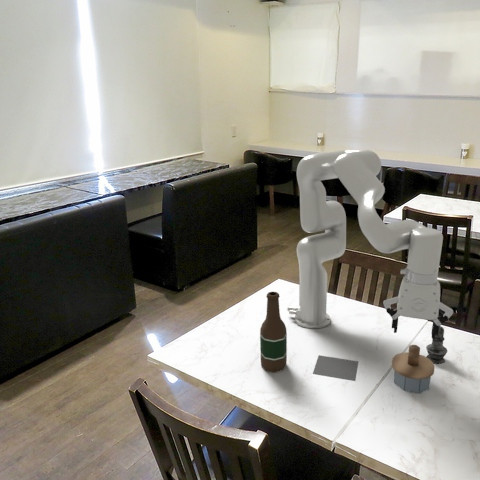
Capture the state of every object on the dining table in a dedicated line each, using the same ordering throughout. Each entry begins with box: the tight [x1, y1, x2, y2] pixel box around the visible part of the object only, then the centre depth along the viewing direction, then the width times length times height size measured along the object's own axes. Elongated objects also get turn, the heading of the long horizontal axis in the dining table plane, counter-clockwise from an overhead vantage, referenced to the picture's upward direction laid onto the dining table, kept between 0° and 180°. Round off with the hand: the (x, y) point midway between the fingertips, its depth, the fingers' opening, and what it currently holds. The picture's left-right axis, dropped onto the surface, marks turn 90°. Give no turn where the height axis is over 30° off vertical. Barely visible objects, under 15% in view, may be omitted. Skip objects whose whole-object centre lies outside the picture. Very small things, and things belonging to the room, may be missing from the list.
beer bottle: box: [259, 291, 288, 373], centre depth 134 cm, size 8×8×24 cm
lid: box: [391, 344, 436, 379], centre depth 125 cm, size 11×11×6 cm
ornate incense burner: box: [425, 325, 448, 365], centre depth 136 cm, size 6×6×12 cm
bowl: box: [393, 370, 432, 395], centre depth 127 cm, size 9×9×5 cm
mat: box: [312, 354, 359, 382], centre depth 135 cm, size 12×10×1 cm
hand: (413, 333), depth 123 cm, fingers open, 9 cm apart
